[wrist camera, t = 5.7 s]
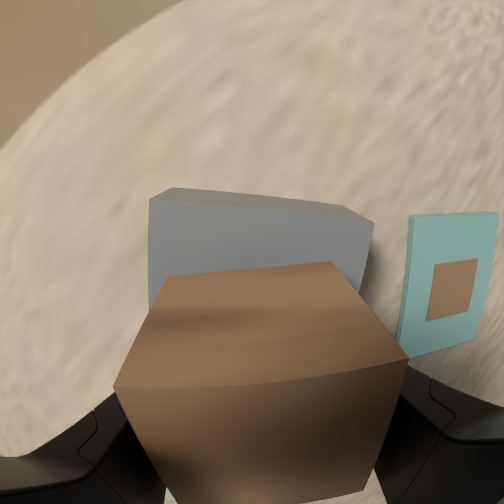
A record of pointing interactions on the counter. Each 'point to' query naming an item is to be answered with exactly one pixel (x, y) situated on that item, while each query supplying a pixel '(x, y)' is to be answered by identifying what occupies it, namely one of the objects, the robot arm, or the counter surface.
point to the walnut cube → (261, 385)
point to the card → (445, 280)
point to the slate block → (250, 235)
